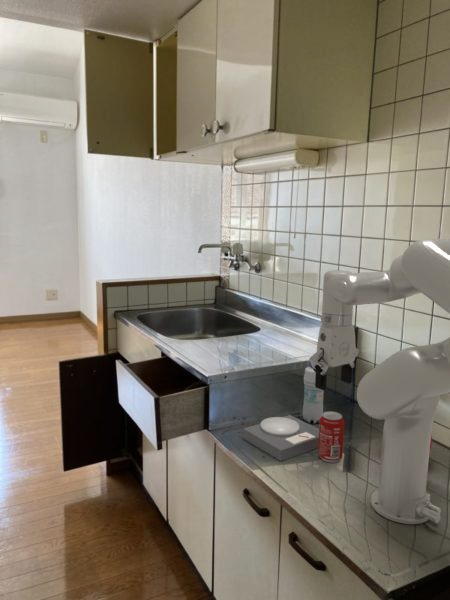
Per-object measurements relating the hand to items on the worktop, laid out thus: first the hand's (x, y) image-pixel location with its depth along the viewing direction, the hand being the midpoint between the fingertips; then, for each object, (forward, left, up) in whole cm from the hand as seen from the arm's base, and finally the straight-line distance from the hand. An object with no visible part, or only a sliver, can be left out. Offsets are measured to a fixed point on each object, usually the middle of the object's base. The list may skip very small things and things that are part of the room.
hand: (333, 385), depth 123 cm
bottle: (+20, -14, -20) cm, 32 cm away
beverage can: (0, 0, -20) cm, 20 cm away
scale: (+14, +3, -20) cm, 25 cm away
